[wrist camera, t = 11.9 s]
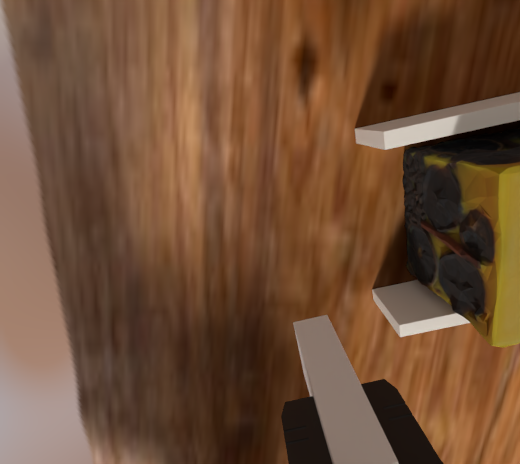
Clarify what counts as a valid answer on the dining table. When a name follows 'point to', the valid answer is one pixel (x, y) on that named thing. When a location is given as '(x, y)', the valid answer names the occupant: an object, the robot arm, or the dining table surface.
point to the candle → (468, 228)
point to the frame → (413, 131)
